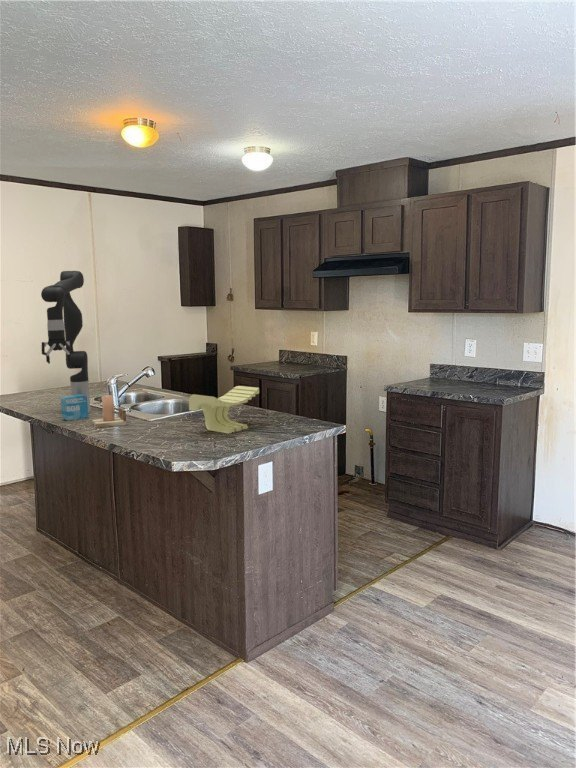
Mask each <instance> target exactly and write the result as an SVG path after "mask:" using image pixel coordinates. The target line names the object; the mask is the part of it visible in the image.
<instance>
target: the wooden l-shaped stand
mask: <svg viewBox="0 0 576 768" xmlns="http://www.w3.org/2000/svg"><path fill="white" fill-rule="evenodd" d="M93 424H94V425H93ZM92 425H93V427H95V429H101V428H100V427H104V428H110V427H109V426H113V427H120V426H121V427H122V426H127V412H126V410H125V409H124V408H123V406H118V416H114V421H103V418H96V419H92Z"/></svg>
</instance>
